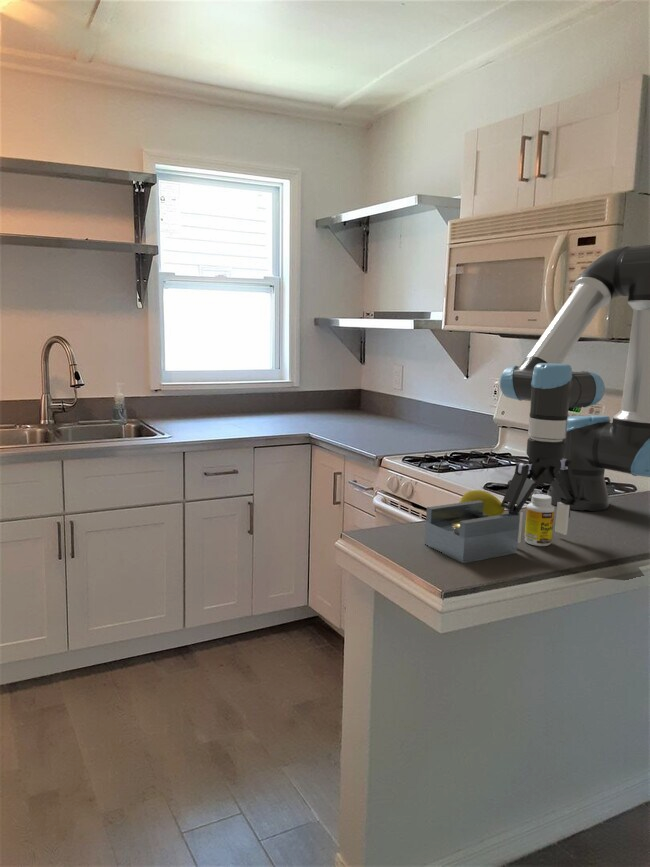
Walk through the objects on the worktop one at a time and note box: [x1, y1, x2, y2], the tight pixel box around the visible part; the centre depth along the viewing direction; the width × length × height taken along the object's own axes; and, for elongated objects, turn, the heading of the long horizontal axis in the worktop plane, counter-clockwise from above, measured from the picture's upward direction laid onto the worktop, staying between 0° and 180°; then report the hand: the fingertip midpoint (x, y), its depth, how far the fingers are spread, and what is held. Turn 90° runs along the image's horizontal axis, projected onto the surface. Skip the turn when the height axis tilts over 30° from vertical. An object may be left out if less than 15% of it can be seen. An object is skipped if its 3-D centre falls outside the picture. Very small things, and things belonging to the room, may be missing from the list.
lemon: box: [458, 489, 506, 517], centre depth 154 cm, size 11×8×8 cm
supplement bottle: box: [523, 493, 555, 547], centre depth 143 cm, size 6×6×10 cm
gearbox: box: [424, 500, 520, 564], centre depth 138 cm, size 14×12×8 cm
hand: (538, 537), depth 143 cm, fingers open, 13 cm apart
